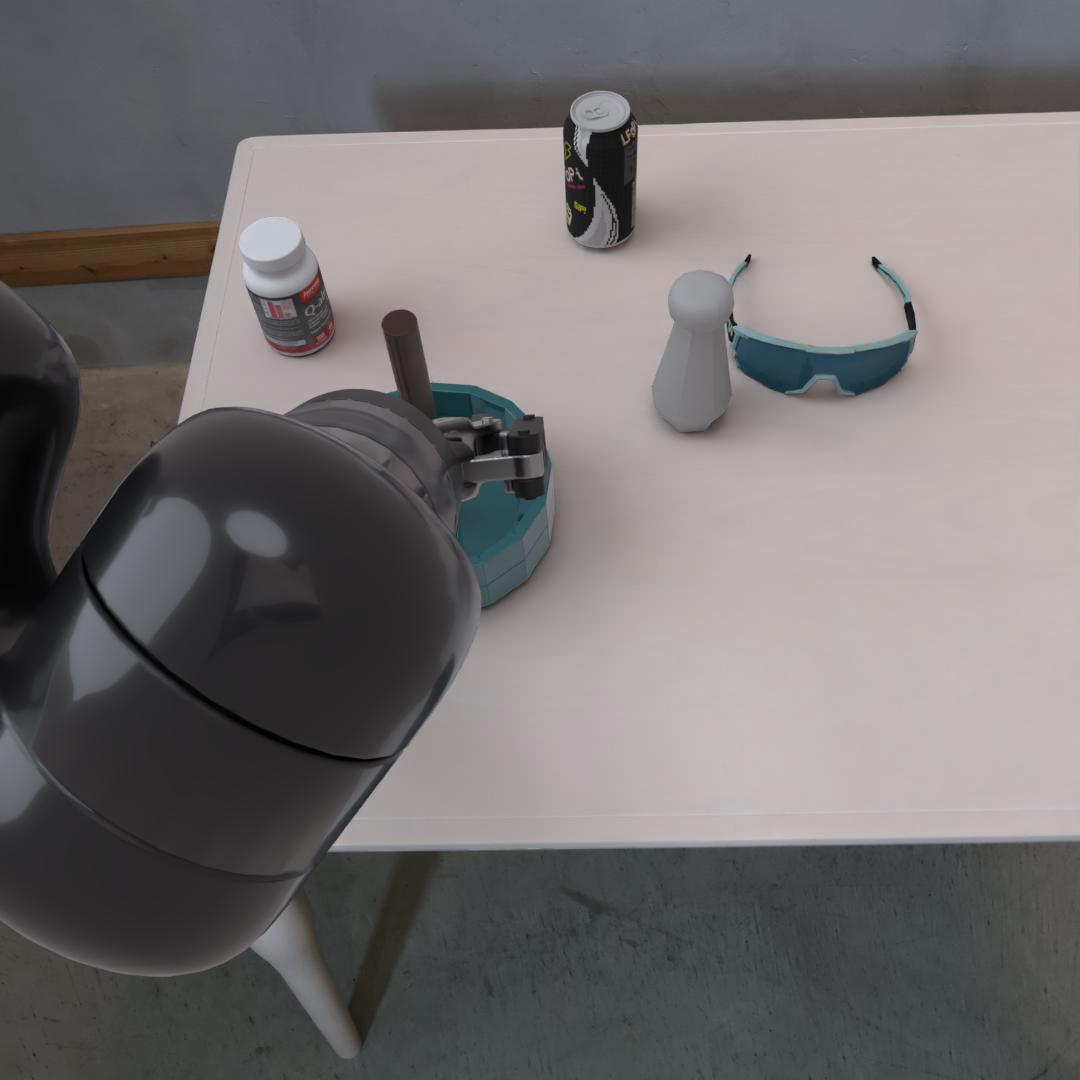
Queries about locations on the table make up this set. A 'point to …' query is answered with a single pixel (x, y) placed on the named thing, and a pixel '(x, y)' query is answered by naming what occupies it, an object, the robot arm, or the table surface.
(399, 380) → the stick
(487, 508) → the bowl
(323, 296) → the pill bottle
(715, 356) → the salt shaker
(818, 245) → the table surface
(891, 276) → the sunglasses
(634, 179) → the beverage can
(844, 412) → the table surface
